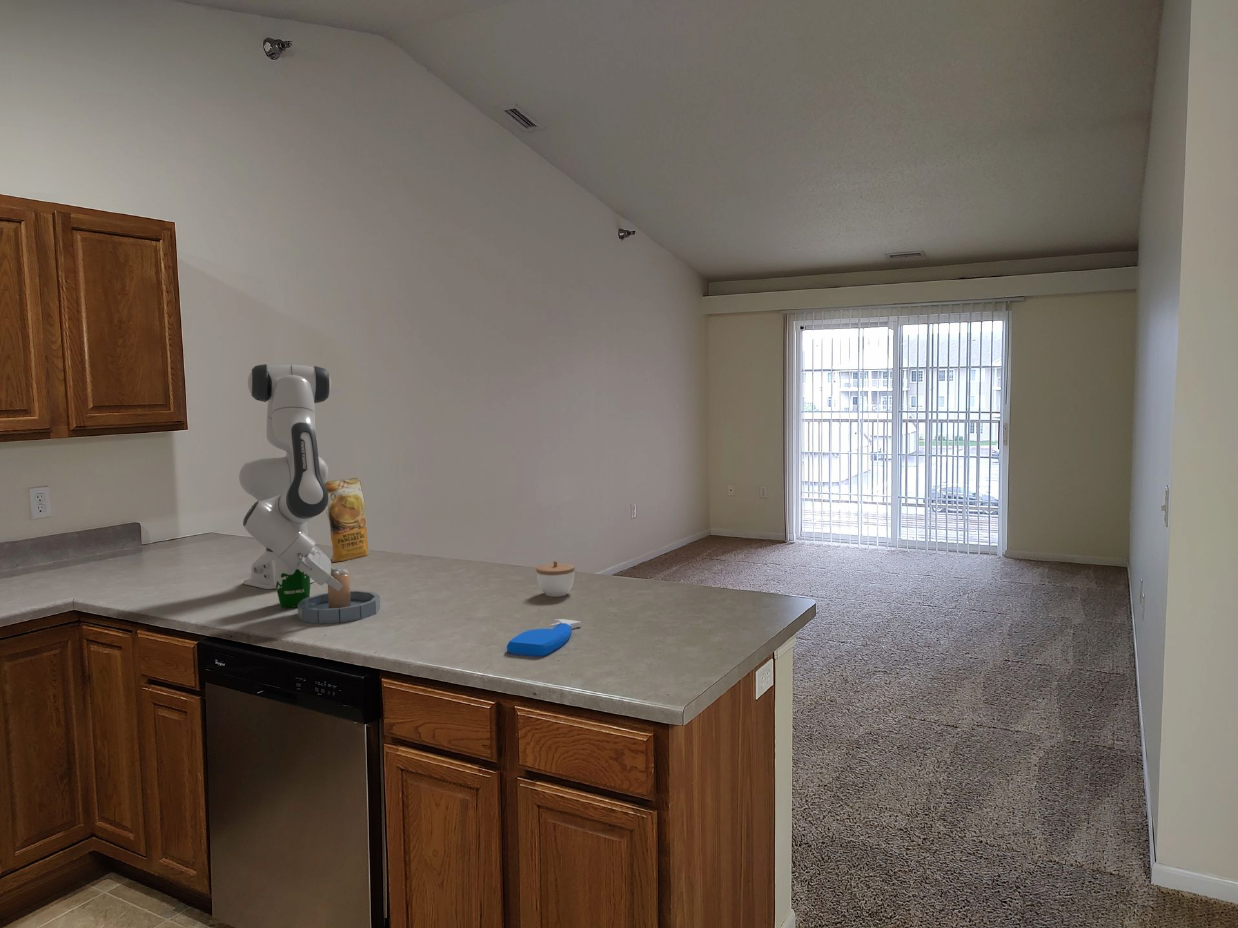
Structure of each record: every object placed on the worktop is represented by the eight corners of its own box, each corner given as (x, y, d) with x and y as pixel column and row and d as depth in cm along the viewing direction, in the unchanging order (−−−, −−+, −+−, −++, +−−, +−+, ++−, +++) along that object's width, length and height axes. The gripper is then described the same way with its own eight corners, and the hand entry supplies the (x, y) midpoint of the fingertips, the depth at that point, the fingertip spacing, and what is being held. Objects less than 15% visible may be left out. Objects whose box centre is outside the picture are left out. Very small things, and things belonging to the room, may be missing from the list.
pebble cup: (323, 608, 221) (322, 570, 220) (339, 604, 226) (338, 566, 225) (339, 611, 218) (338, 572, 217) (355, 606, 223) (354, 568, 222)
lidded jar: (551, 588, 243) (550, 556, 242) (582, 591, 238) (581, 559, 237) (529, 596, 234) (528, 563, 233) (561, 600, 229) (560, 566, 228)
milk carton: (308, 598, 238) (304, 529, 236) (313, 605, 230) (308, 533, 228) (275, 602, 234) (271, 532, 232) (279, 610, 226) (274, 537, 224)
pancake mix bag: (320, 562, 290) (315, 481, 287) (363, 552, 306) (359, 476, 304) (333, 563, 286) (328, 482, 284) (376, 553, 303) (372, 476, 300)
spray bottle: (546, 646, 180) (591, 617, 203) (501, 641, 184) (550, 614, 207) (546, 659, 180) (591, 629, 203) (502, 654, 184) (550, 626, 207)
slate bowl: (282, 618, 218) (281, 605, 217) (339, 600, 235) (339, 588, 235) (339, 626, 209) (339, 612, 208) (394, 606, 226) (394, 594, 226)
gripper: (306, 548, 208) (349, 583, 212) (309, 535, 228) (348, 567, 231) (288, 568, 207) (332, 602, 211) (292, 553, 227) (332, 585, 230)
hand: (340, 584), depth 221 cm, fingers open, 8 cm apart
